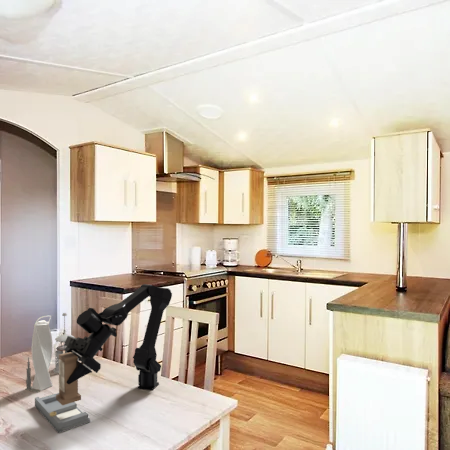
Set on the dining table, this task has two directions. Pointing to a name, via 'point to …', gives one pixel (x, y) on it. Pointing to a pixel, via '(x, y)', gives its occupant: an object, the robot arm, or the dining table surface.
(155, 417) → the dining table surface
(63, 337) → the french press
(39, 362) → the skyscraper
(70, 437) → the dining table surface
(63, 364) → the wooden block
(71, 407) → the grey compartment tray
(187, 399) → the dining table surface
